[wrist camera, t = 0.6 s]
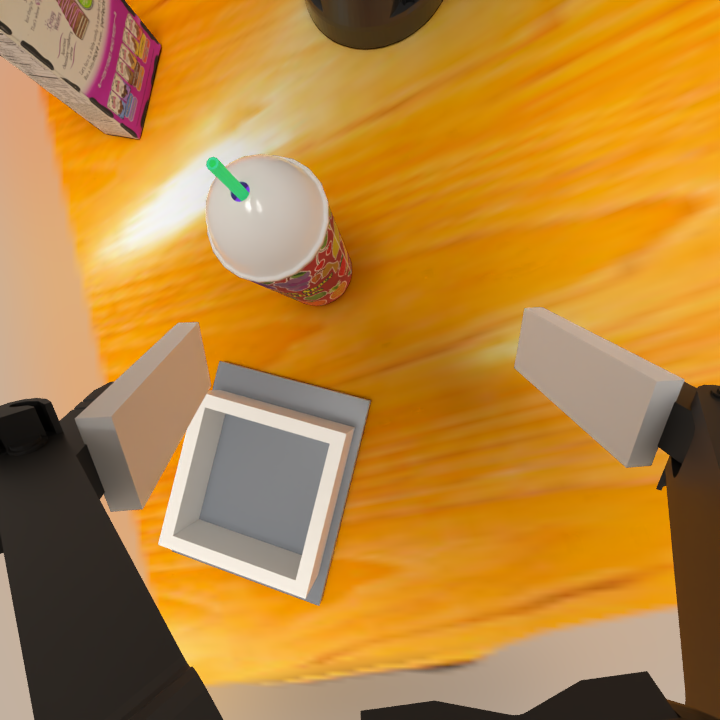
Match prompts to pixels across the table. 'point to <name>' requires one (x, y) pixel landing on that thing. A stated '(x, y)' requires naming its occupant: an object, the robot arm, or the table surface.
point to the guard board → (266, 479)
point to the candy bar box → (85, 57)
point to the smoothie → (276, 228)
